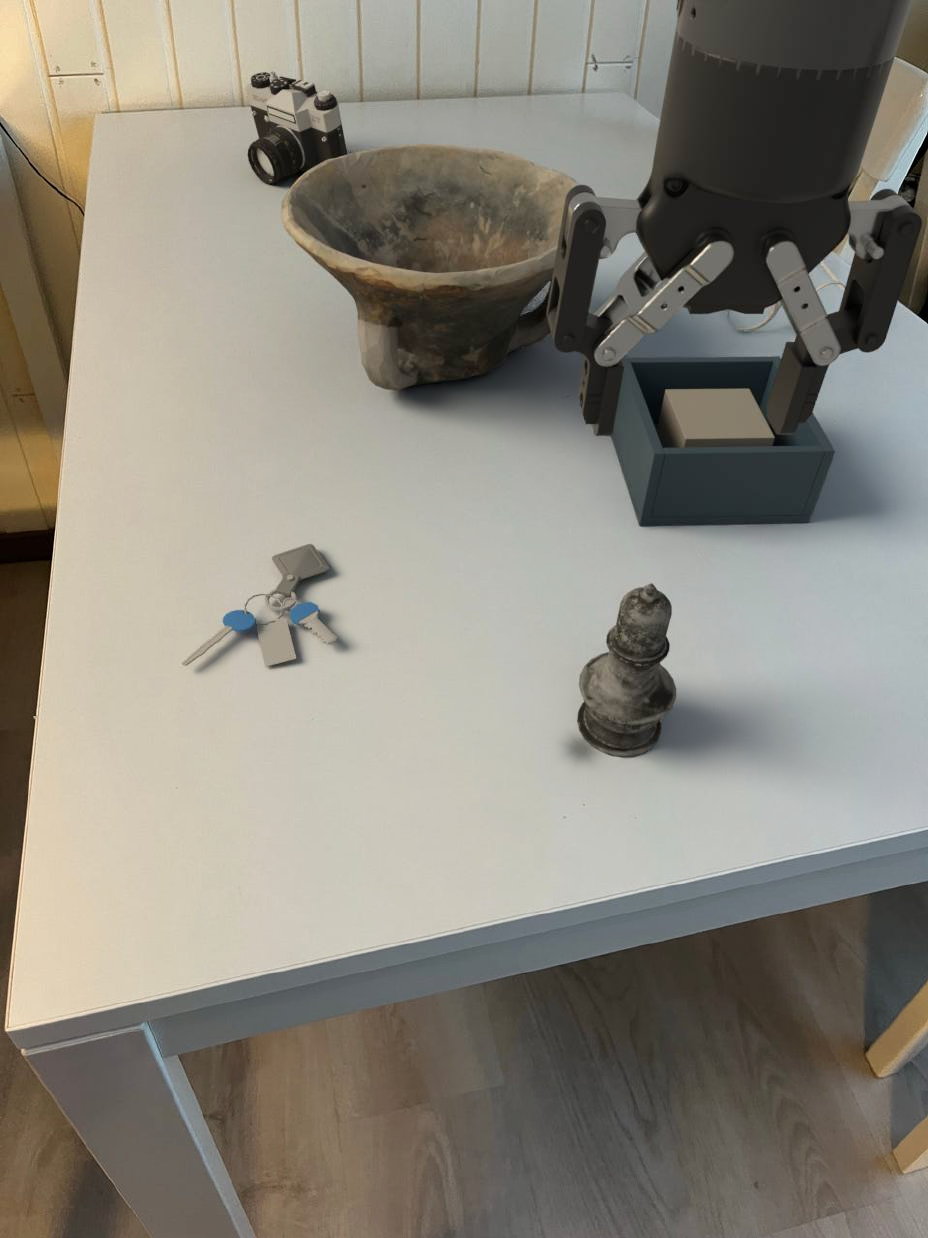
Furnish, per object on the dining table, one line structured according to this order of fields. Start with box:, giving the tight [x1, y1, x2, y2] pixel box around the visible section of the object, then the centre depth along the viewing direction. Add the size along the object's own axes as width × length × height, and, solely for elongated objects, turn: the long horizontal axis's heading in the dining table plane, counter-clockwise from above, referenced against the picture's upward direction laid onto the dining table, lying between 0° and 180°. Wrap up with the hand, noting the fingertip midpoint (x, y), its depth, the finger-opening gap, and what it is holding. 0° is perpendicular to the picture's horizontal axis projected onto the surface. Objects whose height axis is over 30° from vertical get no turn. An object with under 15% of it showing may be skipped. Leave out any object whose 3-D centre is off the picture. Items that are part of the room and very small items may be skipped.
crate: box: [610, 355, 836, 527], centre depth 77 cm, size 14×14×7 cm
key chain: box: [181, 543, 338, 668], centre depth 65 cm, size 14×8×1 cm, turn 157°
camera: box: [245, 71, 349, 185], centre depth 119 cm, size 15×11×10 cm
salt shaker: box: [576, 582, 677, 758], centre depth 56 cm, size 6×6×12 cm
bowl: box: [280, 143, 580, 391], centre depth 86 cm, size 27×26×15 cm
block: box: [657, 389, 775, 448], centre depth 77 cm, size 7×7×5 cm
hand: (690, 425), depth 44 cm, fingers open, 8 cm apart
